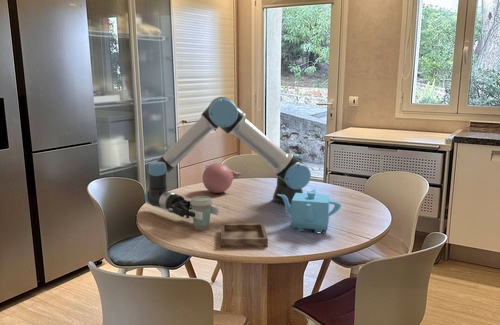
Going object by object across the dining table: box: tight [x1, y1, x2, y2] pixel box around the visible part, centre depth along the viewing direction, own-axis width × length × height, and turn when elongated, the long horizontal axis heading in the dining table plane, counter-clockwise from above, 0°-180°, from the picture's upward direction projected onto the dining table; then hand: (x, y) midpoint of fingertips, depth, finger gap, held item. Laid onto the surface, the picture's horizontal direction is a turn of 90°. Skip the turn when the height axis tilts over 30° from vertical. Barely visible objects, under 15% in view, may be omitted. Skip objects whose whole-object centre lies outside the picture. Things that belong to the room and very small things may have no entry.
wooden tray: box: [220, 222, 269, 248], centre depth 161 cm, size 16×16×3 cm
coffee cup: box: [190, 195, 213, 231], centre depth 172 cm, size 8×9×12 cm
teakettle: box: [277, 188, 342, 233], centre depth 172 cm, size 19×19×15 cm
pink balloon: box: [201, 162, 242, 194], centre depth 224 cm, size 15×20×15 cm
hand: (209, 213), depth 169 cm, fingers closed on coffee cup, 8 cm apart
